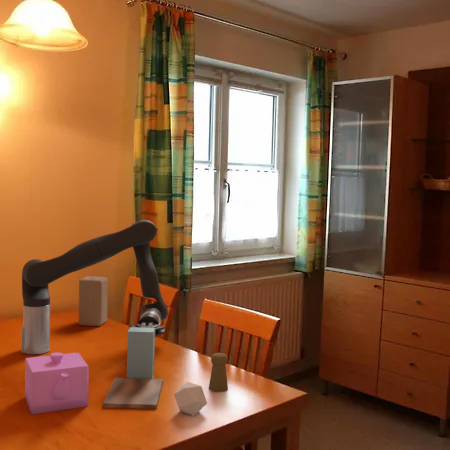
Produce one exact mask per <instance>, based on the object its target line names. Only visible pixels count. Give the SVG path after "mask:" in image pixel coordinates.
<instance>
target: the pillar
mask: <svg viewBox="0 0 450 450" xmlns="http://www.w3.org/2000/svg"><path fill="white" fill-rule="evenodd" d="M155 338H156V336H155V328H139V327H130V329H129V328H128V330H127V355H126V356H127V359H126V361H127V363H126V378H136V379H154V377H155V343H156V341H155V340H156V339H155Z"/></svg>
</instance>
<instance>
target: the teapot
mask: <svg viewBox="0 0 450 450" xmlns="http://www.w3.org/2000/svg"><path fill="white" fill-rule="evenodd" d="M24 359H25V360H24V362H25V363H24V364H25V365H24V366H25V367H24V368H25V369H24V372H25V374H24V382H25V383H24V385H25V386H24V388H25V390H24V397H25V401H26V403H27V406H28V409H29V413H30V414H31V415H40V414H44V413H51V412H58V411H65V410H70V409H72V410H73V409H78V408H84V407H88V406H89V370H90V369H89V365H88V364H87V363H86V361H85V360H84V358H83V357H82V355H81V354H80V353H79V352H69V353H62V352H52V353H50V354H49V355H41V356H40V355H39V356H33V357H25V358H24Z"/></svg>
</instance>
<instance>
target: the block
mask: <svg viewBox="0 0 450 450" xmlns="http://www.w3.org/2000/svg"><path fill="white" fill-rule="evenodd" d="M108 281H109V280H108V277H106V276H95V275H93V276H92V275H87V276H85V277H82V278H81V279H79V281H78V325H80V326H84V327H85V326H90V327H101V326H102V325H104V324H105V323H106V322H107V320H108V293H109V292H108V291H109V290H108V288H109V286H108V285H109V284H108V283H109V282H108Z"/></svg>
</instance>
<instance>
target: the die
mask: <svg viewBox="0 0 450 450" xmlns="http://www.w3.org/2000/svg"><path fill="white" fill-rule="evenodd" d="M173 395H174V398H175V401H176V404H177V407H178V411H179V412H181V413H183V414H186V415H190V416H192V417H195V416H196V414H198V413H199V412H200V411H201V410H202V409H203V408H204V407H205V406H206V405H207V404H208V401H207V397H206V395H205V393H204V390H203V387H202V385H199V384H196V383H194V382H189V381H187V382H186V383H184V384H183V385H182V386H181V387H179V389H178V390H177V391H175V392H174V393H173Z"/></svg>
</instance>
